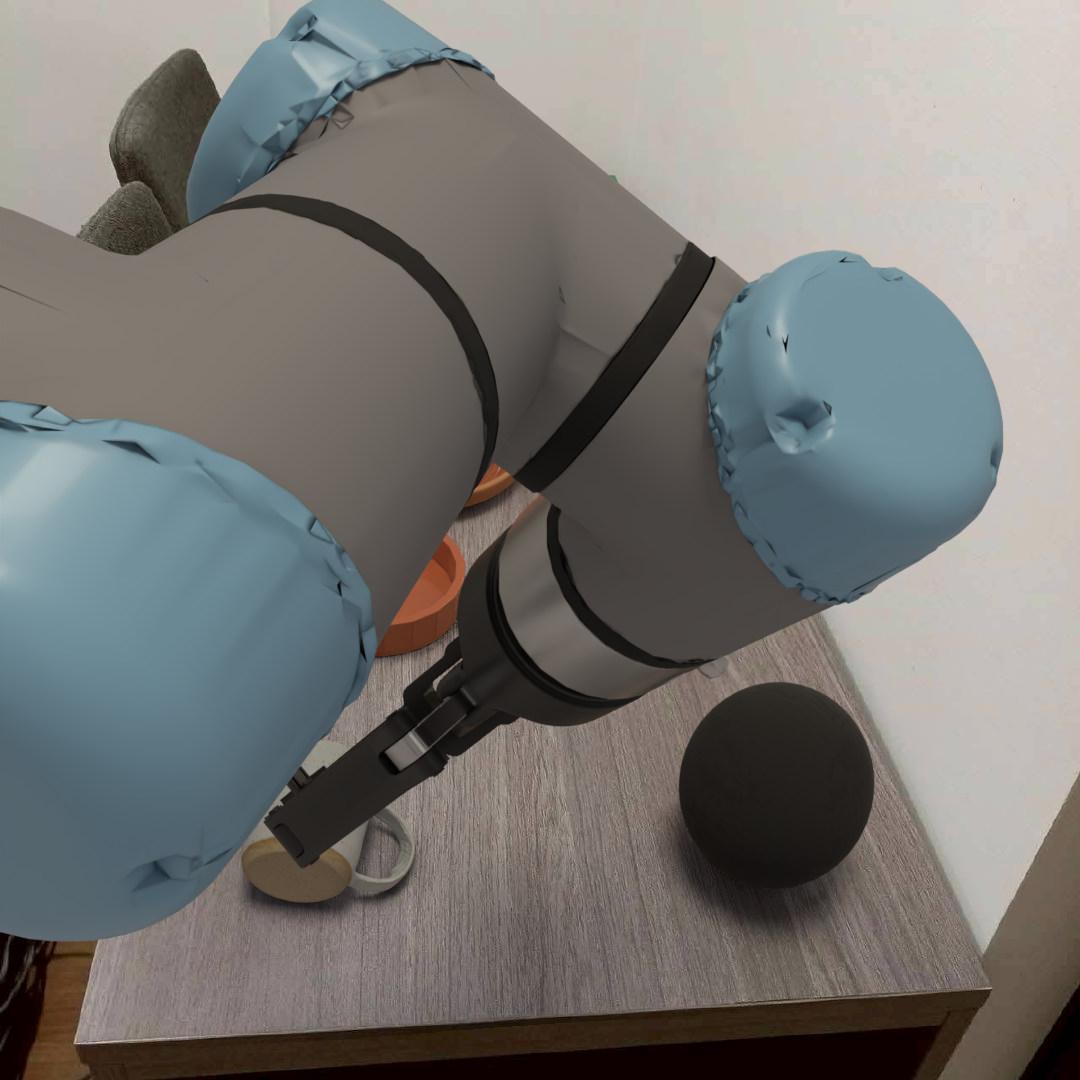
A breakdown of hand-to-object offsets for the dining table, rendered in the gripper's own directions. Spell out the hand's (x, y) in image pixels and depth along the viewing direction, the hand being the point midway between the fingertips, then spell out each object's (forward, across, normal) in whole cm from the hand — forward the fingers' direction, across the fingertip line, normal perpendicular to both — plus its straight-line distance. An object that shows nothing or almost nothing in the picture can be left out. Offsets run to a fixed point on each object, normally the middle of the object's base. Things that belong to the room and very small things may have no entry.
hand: (406, 728), depth 54 cm
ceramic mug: (+21, -2, -4) cm, 21 cm away
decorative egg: (+13, +19, -23) cm, 32 cm away
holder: (+32, +18, +9) cm, 38 cm away
